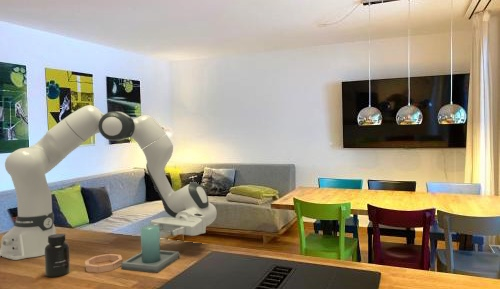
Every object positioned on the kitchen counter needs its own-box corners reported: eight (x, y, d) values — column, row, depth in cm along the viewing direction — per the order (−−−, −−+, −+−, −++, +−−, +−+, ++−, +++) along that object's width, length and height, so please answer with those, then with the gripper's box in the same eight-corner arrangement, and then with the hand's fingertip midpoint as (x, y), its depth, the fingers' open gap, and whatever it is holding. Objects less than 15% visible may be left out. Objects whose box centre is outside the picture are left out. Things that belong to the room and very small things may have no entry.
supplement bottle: (59, 278, 112) (57, 239, 112) (40, 277, 114) (38, 238, 113) (74, 269, 119) (73, 232, 118) (56, 268, 120) (54, 232, 120)
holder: (78, 270, 118) (77, 264, 118) (101, 258, 129) (101, 253, 129) (106, 273, 115) (106, 267, 115) (128, 261, 125) (128, 255, 125)
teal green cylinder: (138, 262, 121) (136, 229, 121) (148, 256, 127) (147, 224, 126) (154, 264, 119) (152, 230, 119) (163, 257, 125) (162, 225, 124)
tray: (121, 269, 118) (121, 262, 118) (146, 254, 132) (146, 249, 132) (157, 273, 114) (156, 266, 114) (179, 257, 128) (179, 251, 128)
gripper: (164, 211, 144) (138, 219, 132) (208, 215, 134) (184, 225, 122) (165, 227, 144) (139, 237, 132) (209, 233, 135) (185, 244, 122)
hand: (161, 231), depth 127 cm, fingers open, 8 cm apart
